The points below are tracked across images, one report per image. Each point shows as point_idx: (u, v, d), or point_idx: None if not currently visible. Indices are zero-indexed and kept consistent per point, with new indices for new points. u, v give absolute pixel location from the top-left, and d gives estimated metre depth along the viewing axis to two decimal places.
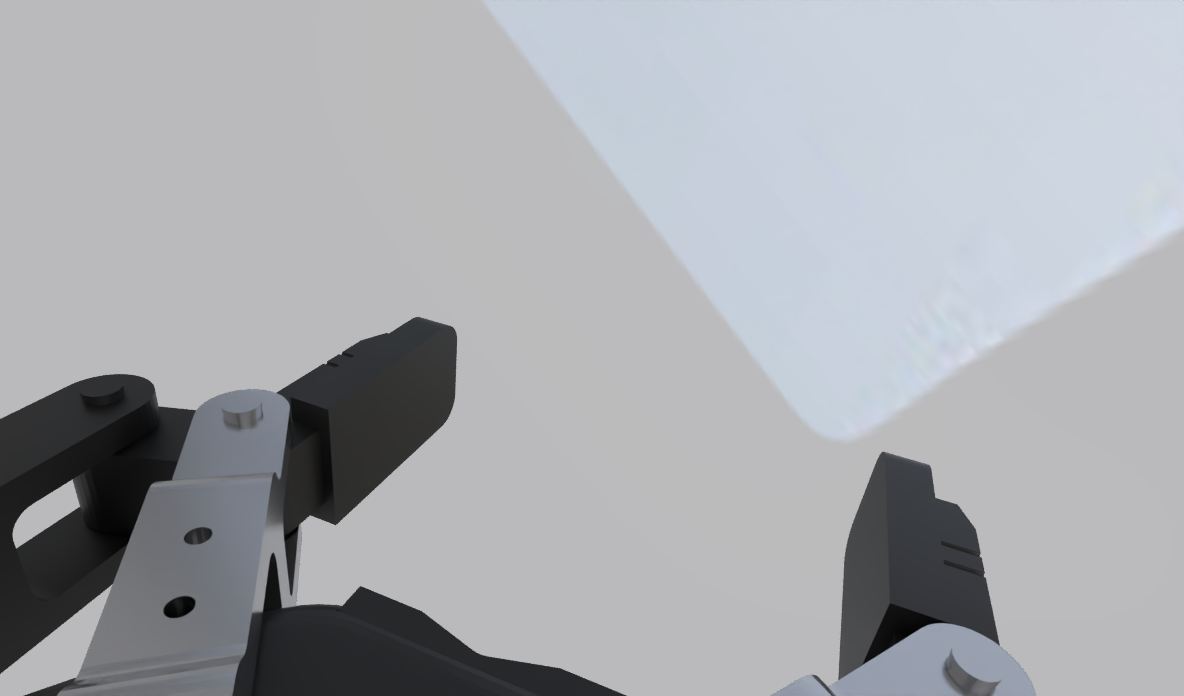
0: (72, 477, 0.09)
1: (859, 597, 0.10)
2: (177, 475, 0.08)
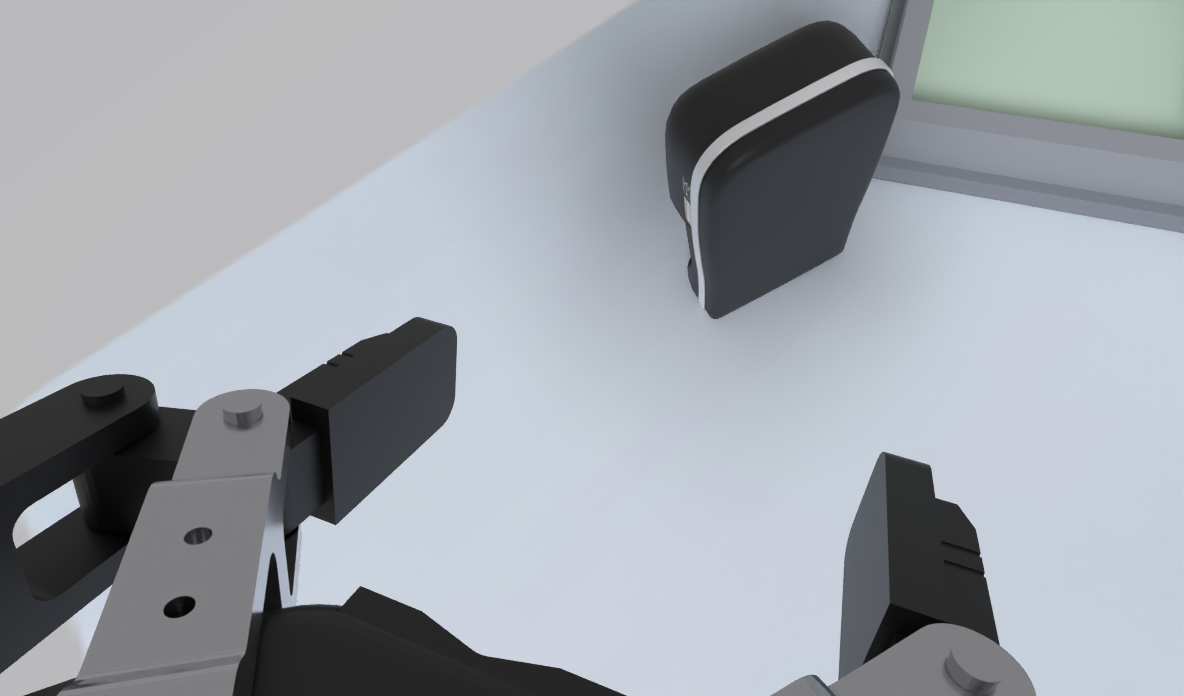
0: (72, 477, 0.09)
1: (859, 597, 0.10)
2: (177, 475, 0.08)
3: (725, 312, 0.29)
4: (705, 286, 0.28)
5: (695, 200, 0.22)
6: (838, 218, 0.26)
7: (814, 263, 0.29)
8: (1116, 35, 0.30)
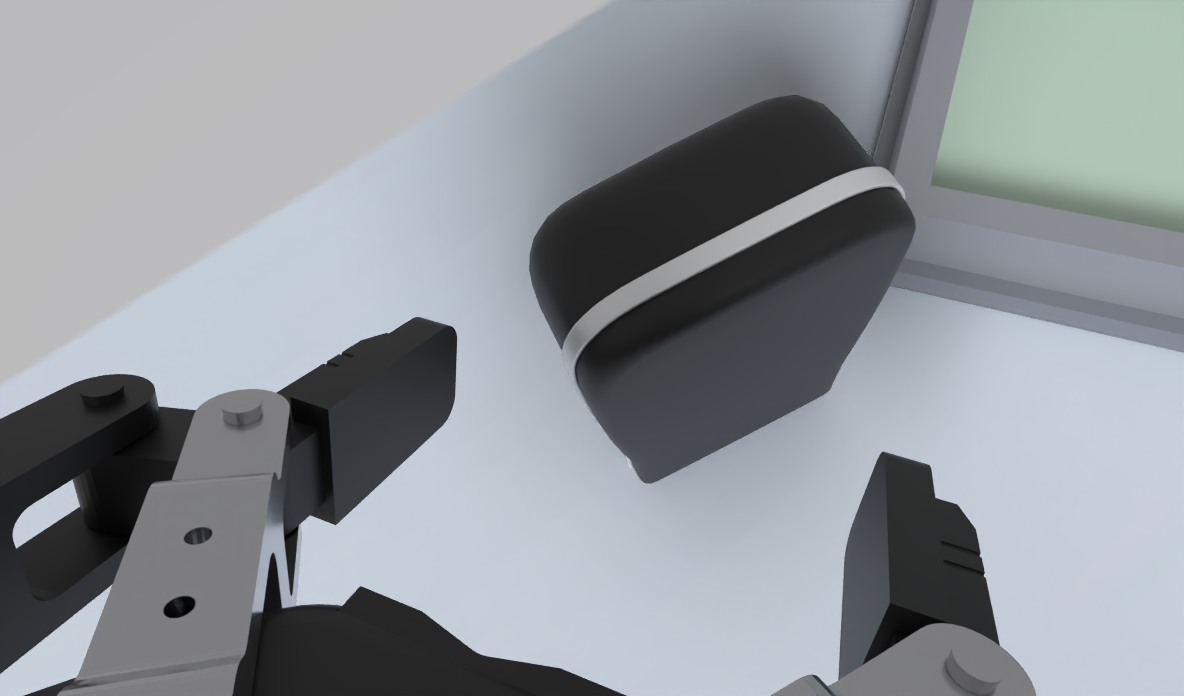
0: (72, 477, 0.09)
1: (859, 597, 0.10)
2: (177, 475, 0.08)
3: (661, 477, 0.21)
4: None
5: (574, 385, 0.13)
6: (819, 368, 0.18)
7: (788, 410, 0.21)
8: None
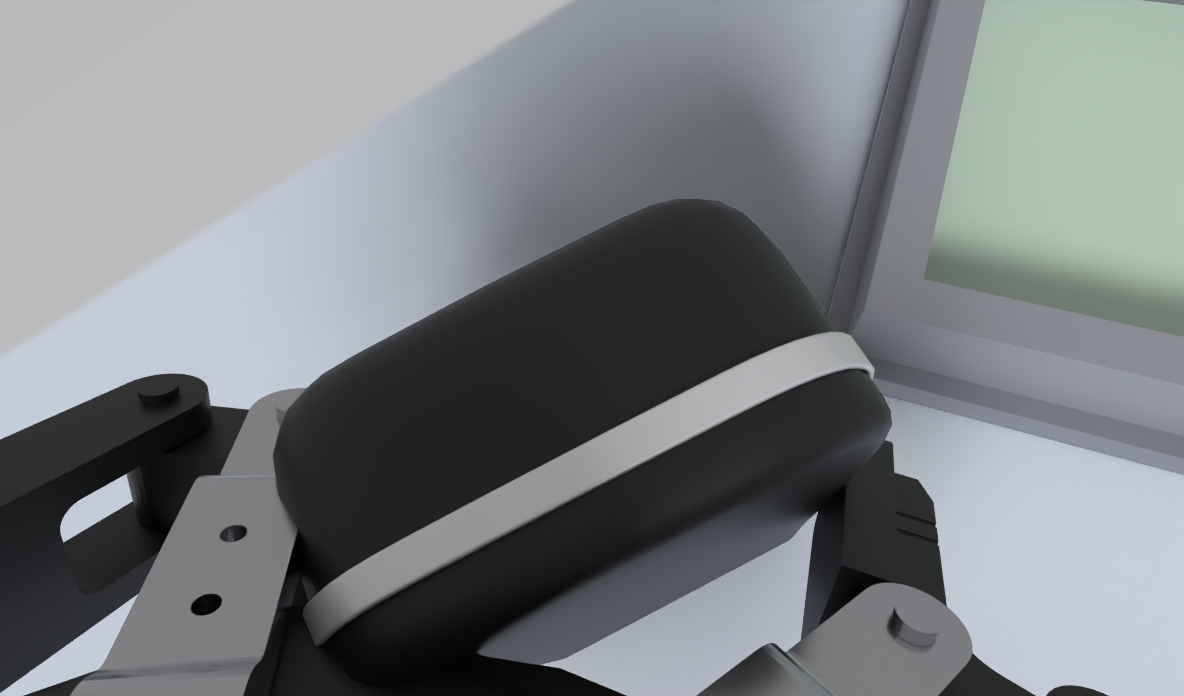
0: (121, 474, 0.09)
1: (821, 566, 0.10)
2: (225, 470, 0.08)
3: (572, 653, 0.16)
4: None
5: None
6: (770, 539, 0.13)
7: (738, 565, 0.16)
8: None
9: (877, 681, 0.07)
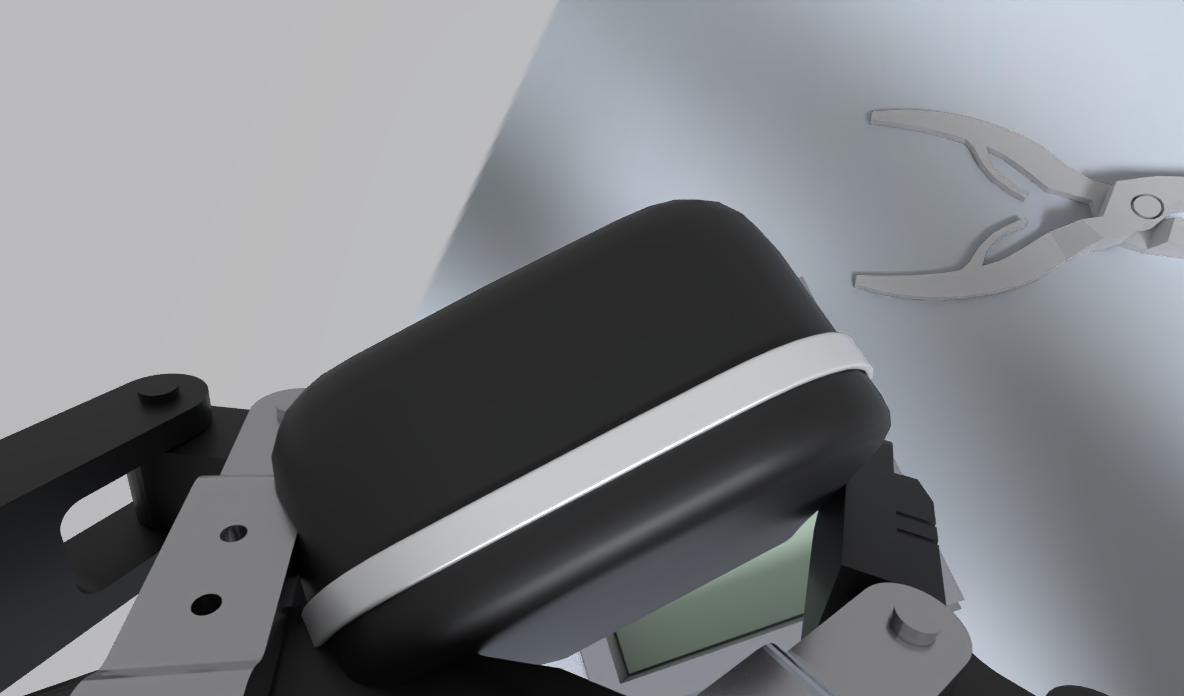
0: (121, 474, 0.09)
1: (820, 566, 0.10)
2: (226, 470, 0.08)
3: (572, 654, 0.16)
4: None
5: None
6: (769, 540, 0.13)
7: (738, 566, 0.16)
8: None
9: (877, 681, 0.07)
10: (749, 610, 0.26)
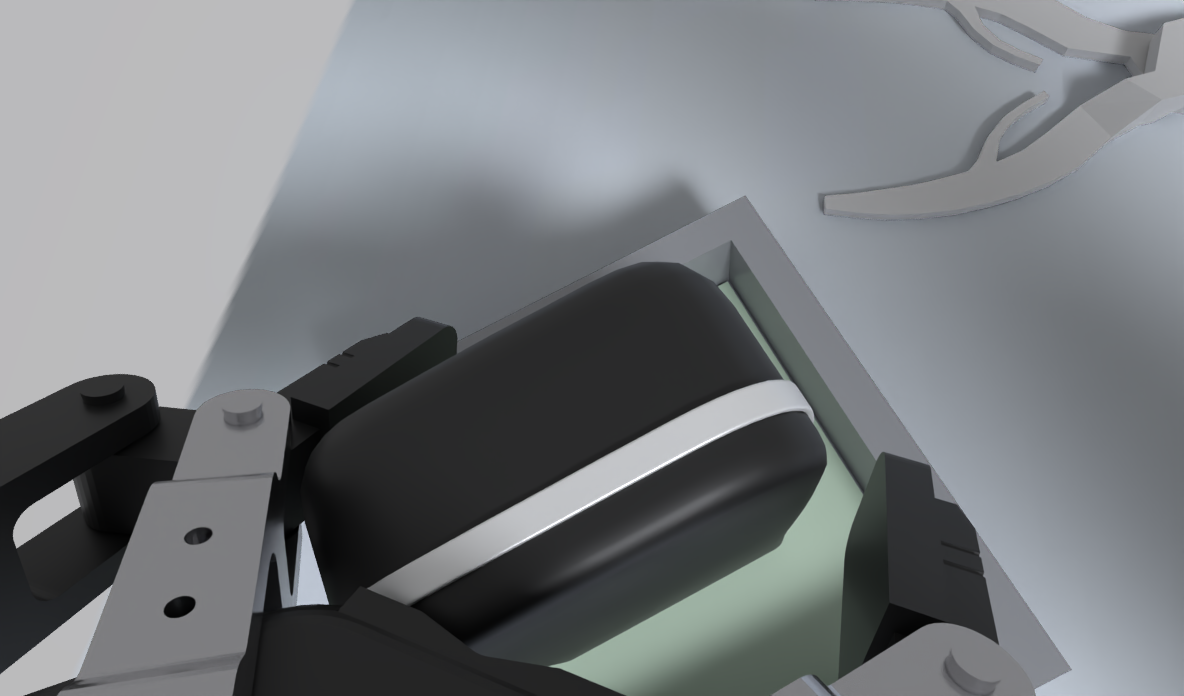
0: (72, 477, 0.09)
1: (859, 597, 0.10)
2: (177, 475, 0.08)
3: (577, 656, 0.17)
4: None
5: None
6: (751, 550, 0.14)
7: (730, 573, 0.17)
8: None
9: None
10: None
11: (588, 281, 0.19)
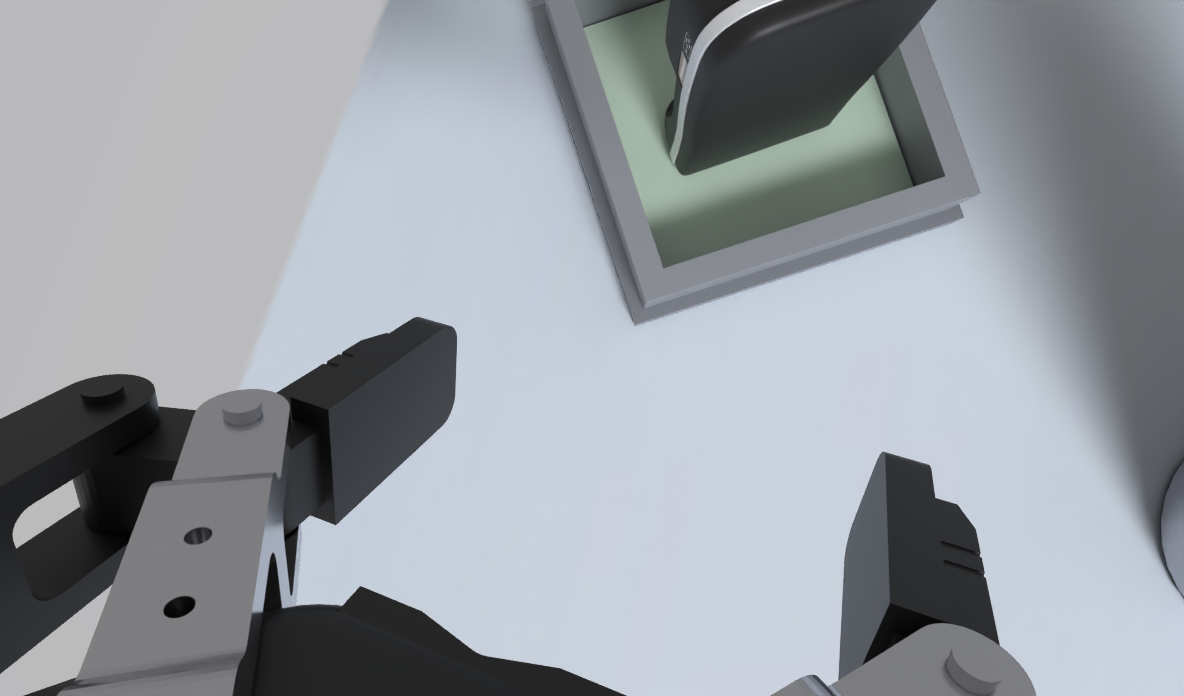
0: (72, 477, 0.09)
1: (859, 597, 0.10)
2: (177, 475, 0.08)
3: (695, 171, 0.28)
4: (681, 143, 0.26)
5: (694, 64, 0.19)
6: (836, 96, 0.24)
7: (797, 134, 0.27)
8: None
9: None
10: (775, 218, 0.28)
11: None
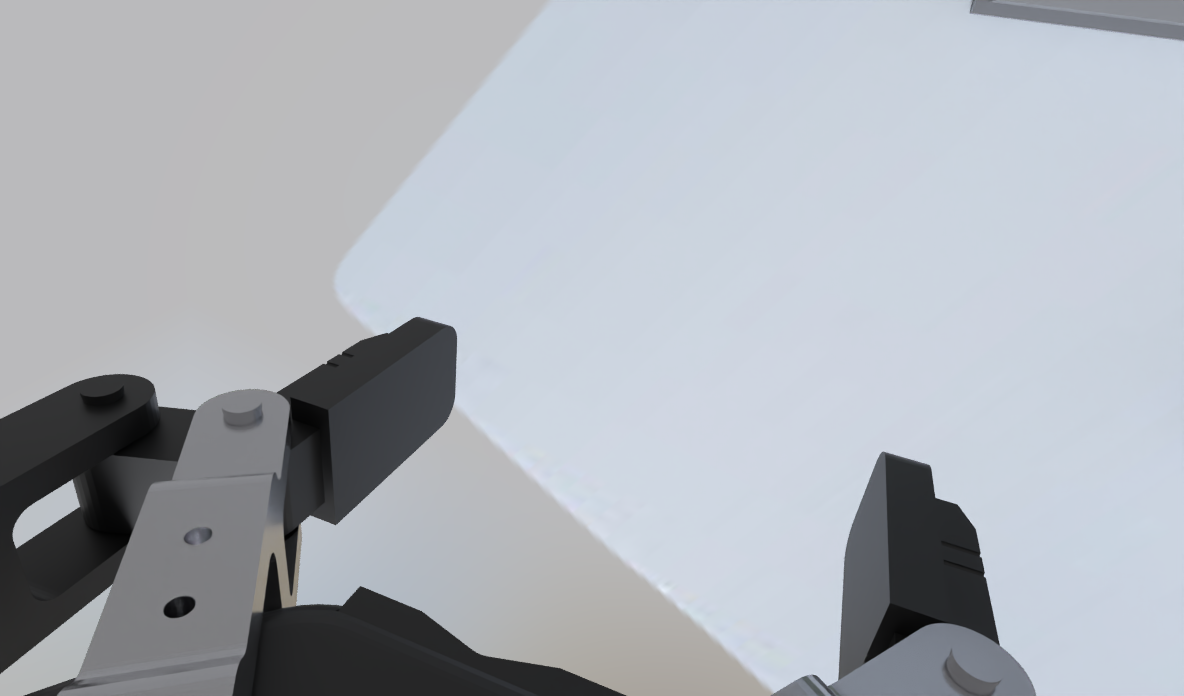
0: (72, 477, 0.09)
1: (859, 597, 0.10)
2: (177, 475, 0.08)
3: None
4: None
5: None
6: None
7: None
8: None
9: None
10: None
11: None
